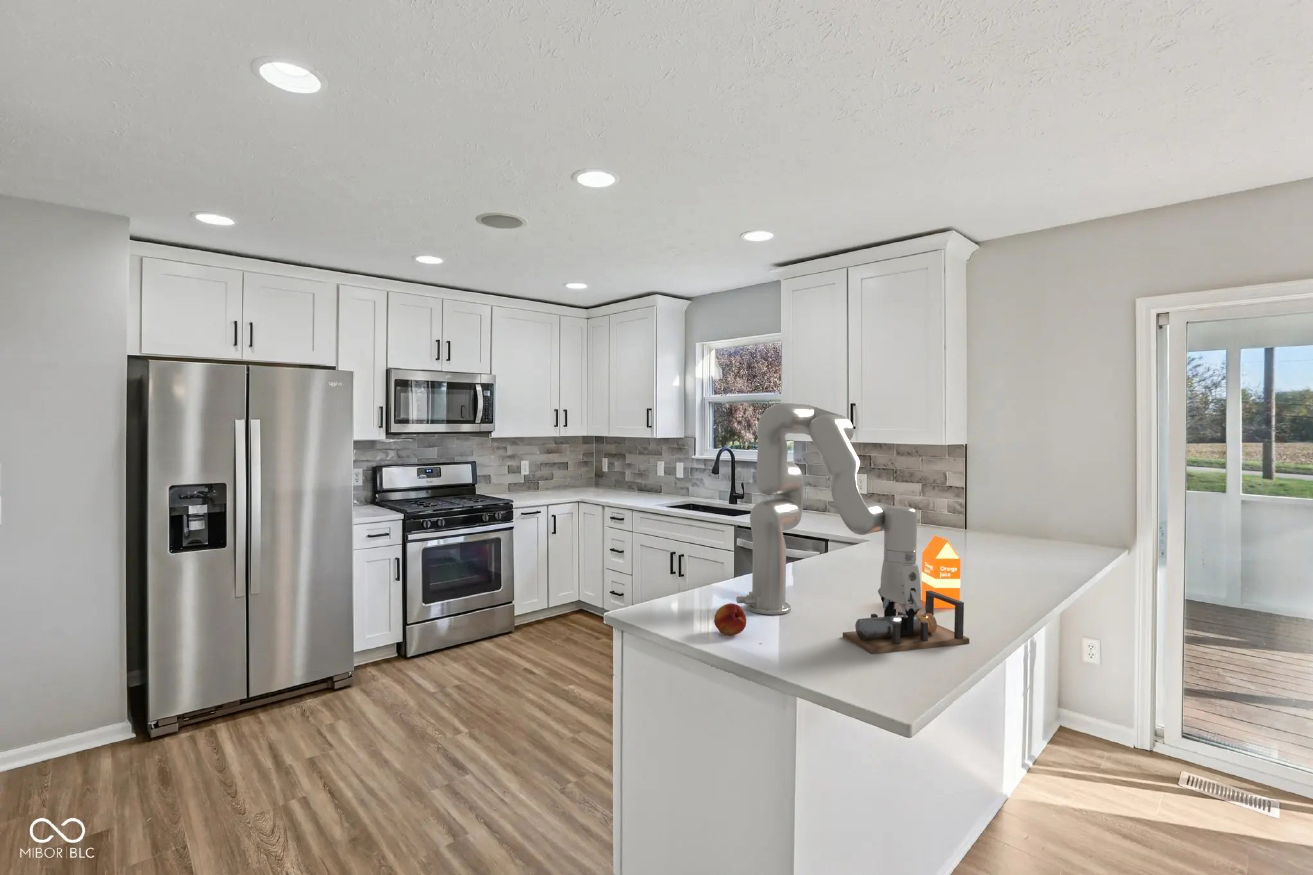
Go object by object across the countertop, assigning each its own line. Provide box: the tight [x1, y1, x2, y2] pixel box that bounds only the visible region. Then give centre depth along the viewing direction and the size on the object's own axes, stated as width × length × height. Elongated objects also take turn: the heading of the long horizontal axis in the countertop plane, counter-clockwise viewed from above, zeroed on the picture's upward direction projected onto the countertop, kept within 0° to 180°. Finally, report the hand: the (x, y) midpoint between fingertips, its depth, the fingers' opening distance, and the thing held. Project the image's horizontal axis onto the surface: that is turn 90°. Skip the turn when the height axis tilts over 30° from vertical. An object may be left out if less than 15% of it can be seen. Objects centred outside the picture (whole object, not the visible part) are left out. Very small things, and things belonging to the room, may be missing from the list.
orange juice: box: [921, 534, 962, 609], centre depth 190 cm, size 8×9×20 cm
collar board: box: [842, 590, 970, 655], centre depth 157 cm, size 28×12×10 cm, turn 107°
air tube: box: [854, 612, 938, 640], centre depth 157 cm, size 20×5×5 cm, turn 107°
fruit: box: [713, 602, 747, 636], centre depth 160 cm, size 8×8×8 cm
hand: (898, 628), depth 157 cm, fingers open, 5 cm apart
